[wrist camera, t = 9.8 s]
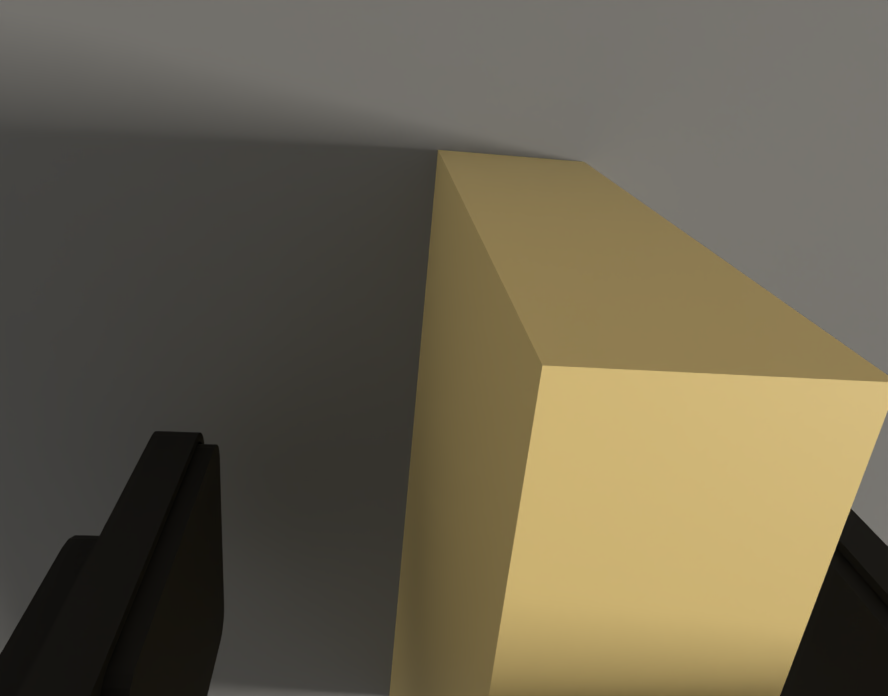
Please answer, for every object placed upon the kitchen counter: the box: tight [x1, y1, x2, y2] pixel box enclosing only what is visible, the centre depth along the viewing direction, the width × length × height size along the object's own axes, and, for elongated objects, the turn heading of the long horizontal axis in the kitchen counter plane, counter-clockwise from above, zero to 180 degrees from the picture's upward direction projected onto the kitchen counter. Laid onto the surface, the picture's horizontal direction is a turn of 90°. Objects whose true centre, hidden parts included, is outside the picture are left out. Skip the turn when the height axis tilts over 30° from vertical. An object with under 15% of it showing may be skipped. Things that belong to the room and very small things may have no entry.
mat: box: [0, 0, 888, 696], centre depth 11 cm, size 20×16×1 cm
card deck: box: [389, 150, 888, 696], centre depth 8 cm, size 9×2×6 cm, turn 175°
